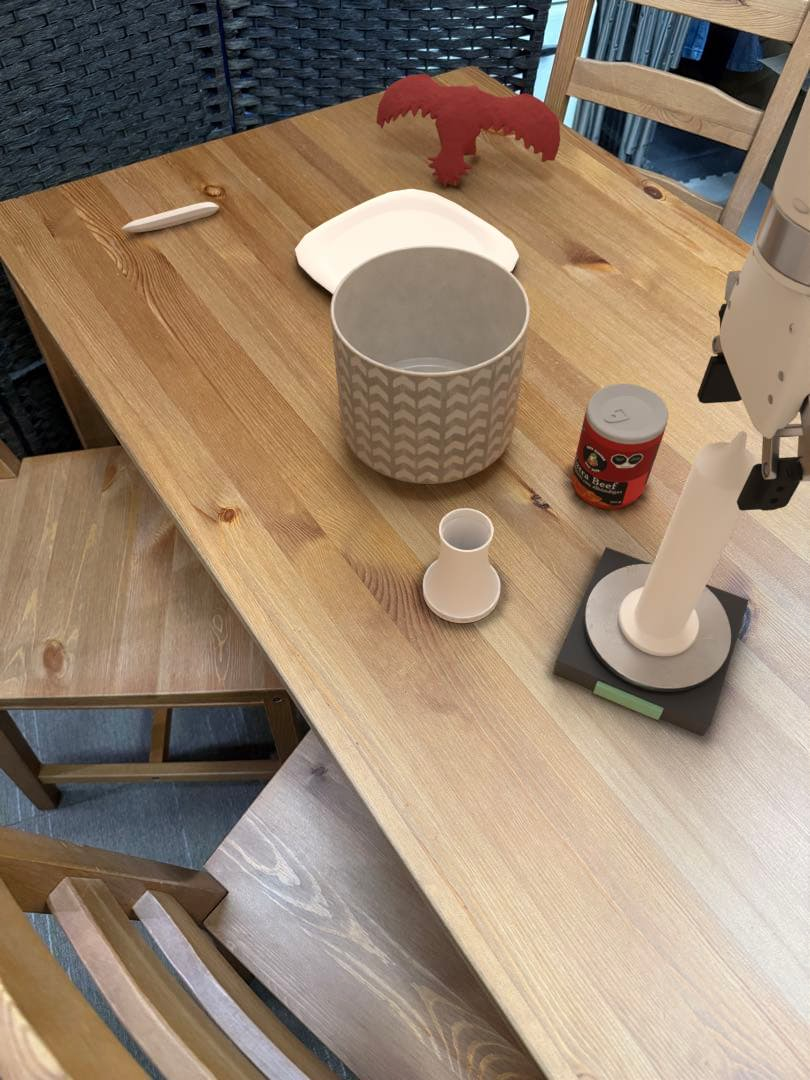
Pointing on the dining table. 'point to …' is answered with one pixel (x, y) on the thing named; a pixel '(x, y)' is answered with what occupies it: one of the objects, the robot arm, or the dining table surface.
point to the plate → (397, 234)
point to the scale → (638, 677)
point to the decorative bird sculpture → (469, 120)
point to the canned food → (618, 444)
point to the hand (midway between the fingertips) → (738, 450)
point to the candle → (689, 551)
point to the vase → (462, 569)
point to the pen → (172, 217)
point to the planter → (429, 361)
